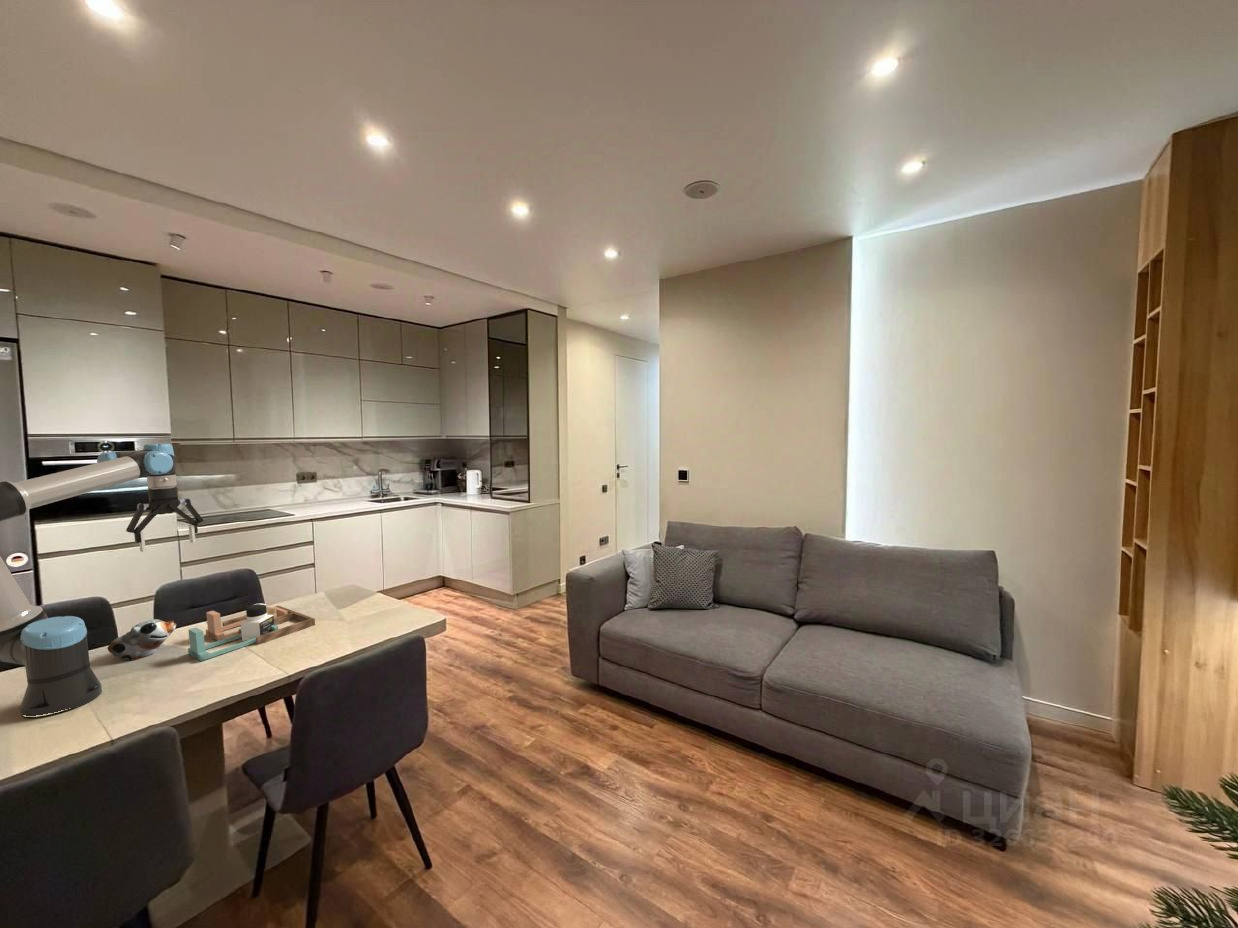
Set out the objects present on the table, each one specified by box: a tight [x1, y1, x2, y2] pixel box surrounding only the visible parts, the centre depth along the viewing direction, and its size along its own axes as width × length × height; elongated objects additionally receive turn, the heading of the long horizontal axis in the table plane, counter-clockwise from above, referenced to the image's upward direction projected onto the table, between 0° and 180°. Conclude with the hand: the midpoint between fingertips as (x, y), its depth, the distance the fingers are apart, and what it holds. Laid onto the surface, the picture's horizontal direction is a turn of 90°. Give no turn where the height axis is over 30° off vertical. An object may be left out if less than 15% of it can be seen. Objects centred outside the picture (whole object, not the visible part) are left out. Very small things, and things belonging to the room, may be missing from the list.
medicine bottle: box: [240, 603, 274, 642], centre depth 179 cm, size 7×7×12 cm
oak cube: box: [267, 606, 277, 618], centre depth 193 cm, size 5×5×5 cm
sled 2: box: [187, 625, 279, 662], centre depth 173 cm, size 23×10×9 cm, turn 149°
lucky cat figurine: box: [106, 618, 177, 661], centre depth 168 cm, size 15×12×14 cm
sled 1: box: [205, 606, 288, 641], centre depth 188 cm, size 23×10×9 cm, turn 149°
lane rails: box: [221, 605, 316, 645], centre depth 188 cm, size 19×28×2 cm
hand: (168, 546), depth 174 cm, fingers open, 13 cm apart
